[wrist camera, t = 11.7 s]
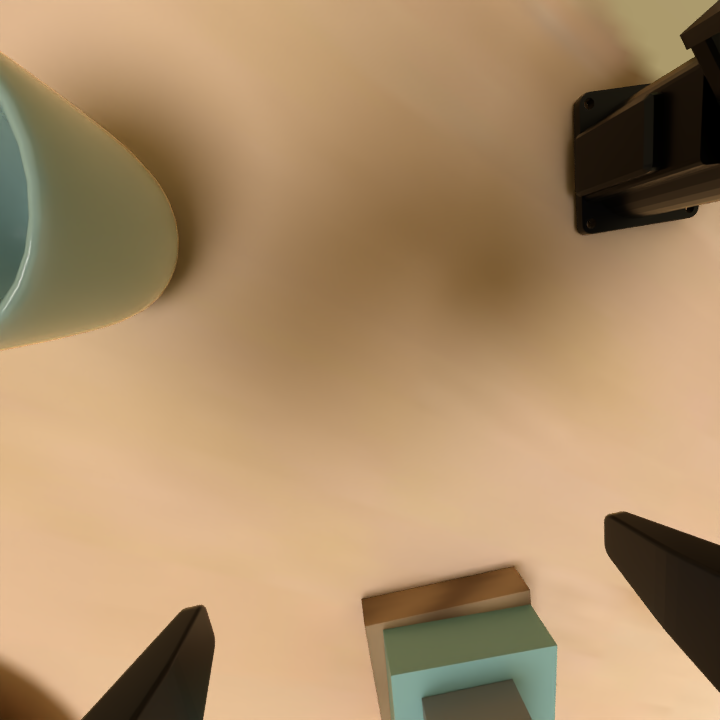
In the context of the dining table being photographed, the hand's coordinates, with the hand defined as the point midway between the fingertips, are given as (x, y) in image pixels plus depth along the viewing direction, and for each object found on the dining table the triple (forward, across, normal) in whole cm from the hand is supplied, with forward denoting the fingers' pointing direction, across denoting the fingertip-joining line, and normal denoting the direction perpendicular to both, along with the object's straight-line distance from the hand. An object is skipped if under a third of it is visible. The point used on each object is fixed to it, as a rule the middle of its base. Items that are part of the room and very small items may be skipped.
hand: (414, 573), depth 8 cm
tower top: (+10, -3, +18) cm, 21 cm away
